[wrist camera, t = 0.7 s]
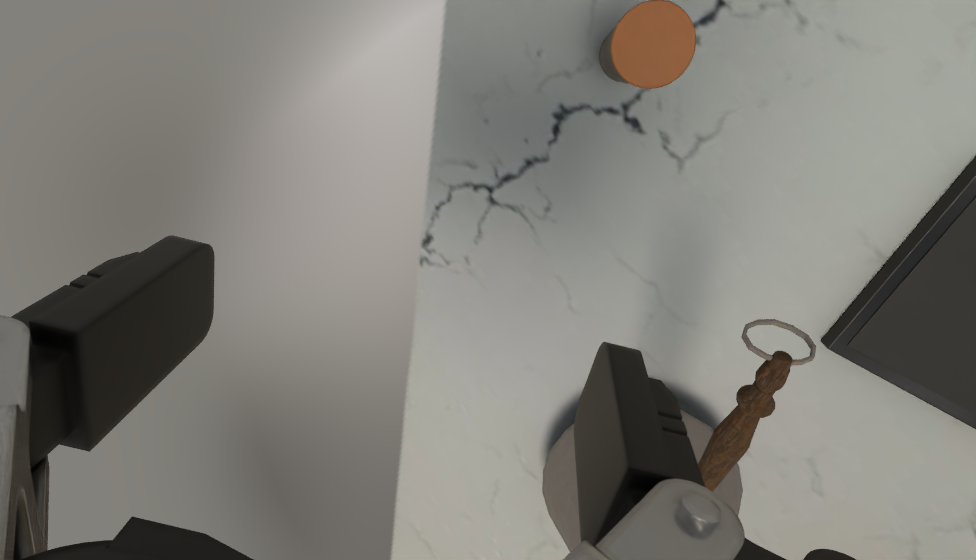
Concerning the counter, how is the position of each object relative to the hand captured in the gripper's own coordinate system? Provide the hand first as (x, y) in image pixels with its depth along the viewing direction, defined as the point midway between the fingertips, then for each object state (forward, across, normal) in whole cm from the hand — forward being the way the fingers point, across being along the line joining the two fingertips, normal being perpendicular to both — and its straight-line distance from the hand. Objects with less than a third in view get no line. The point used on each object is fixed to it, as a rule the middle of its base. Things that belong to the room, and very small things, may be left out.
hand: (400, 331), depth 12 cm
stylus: (+22, -6, -5) cm, 23 cm away
